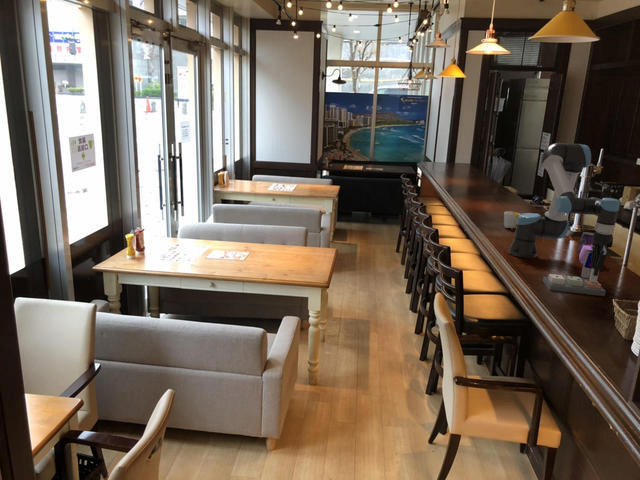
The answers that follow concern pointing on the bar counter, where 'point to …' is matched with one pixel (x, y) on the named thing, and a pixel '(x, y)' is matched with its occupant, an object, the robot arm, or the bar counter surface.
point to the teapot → (584, 252)
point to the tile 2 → (574, 281)
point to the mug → (510, 219)
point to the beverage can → (586, 240)
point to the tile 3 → (592, 284)
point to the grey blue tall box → (587, 266)
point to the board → (574, 288)
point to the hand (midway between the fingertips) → (592, 281)
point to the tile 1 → (556, 279)
